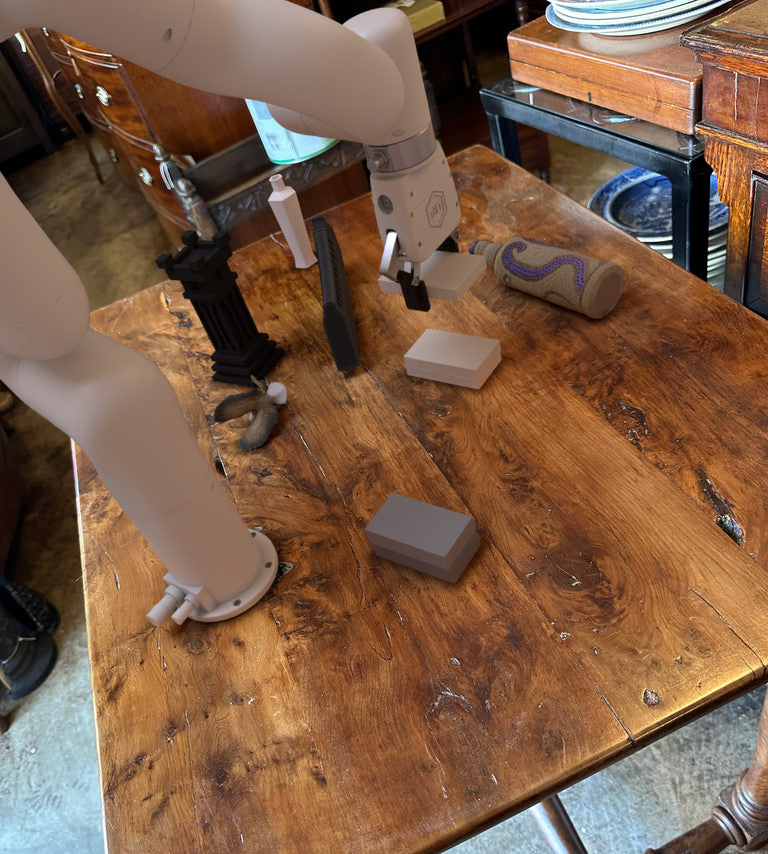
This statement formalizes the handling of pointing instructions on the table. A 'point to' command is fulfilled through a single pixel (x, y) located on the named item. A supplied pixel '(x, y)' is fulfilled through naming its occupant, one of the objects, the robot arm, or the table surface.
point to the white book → (443, 275)
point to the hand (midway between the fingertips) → (435, 289)
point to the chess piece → (221, 309)
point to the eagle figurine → (253, 411)
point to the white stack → (453, 358)
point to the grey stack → (423, 537)
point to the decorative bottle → (555, 274)
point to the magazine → (335, 297)
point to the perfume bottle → (291, 221)
